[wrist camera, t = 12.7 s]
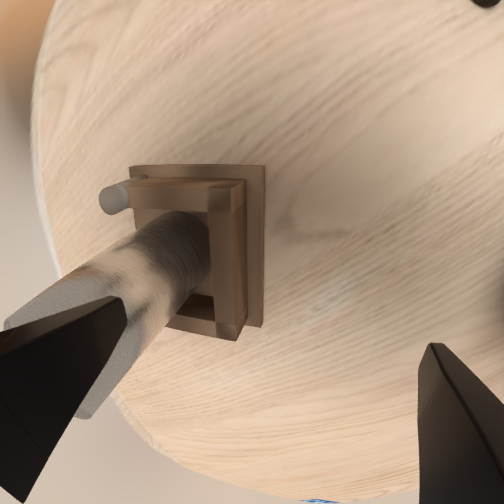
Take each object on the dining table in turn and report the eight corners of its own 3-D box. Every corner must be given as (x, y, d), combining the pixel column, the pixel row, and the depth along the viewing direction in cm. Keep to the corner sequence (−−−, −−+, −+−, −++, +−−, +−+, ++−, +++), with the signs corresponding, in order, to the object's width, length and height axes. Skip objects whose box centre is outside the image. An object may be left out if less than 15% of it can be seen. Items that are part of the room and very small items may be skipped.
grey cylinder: (214, 213, 21) (61, 340, 9) (218, 286, 23) (109, 435, 11) (145, 209, 22) (-11, 304, 10) (154, 276, 25) (33, 391, 12)
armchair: (264, 165, 19) (242, 178, 15) (262, 323, 24) (246, 361, 20) (133, 165, 22) (93, 178, 18) (152, 303, 27) (123, 332, 23)
